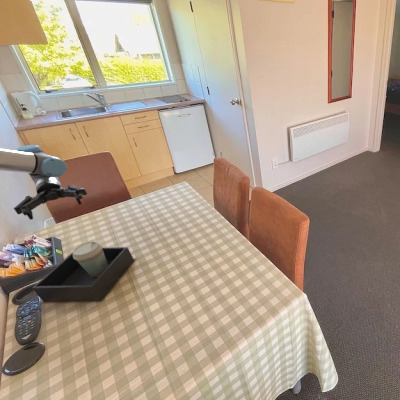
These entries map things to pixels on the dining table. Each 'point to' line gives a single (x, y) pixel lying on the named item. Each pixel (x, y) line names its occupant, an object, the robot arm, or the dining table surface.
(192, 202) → the dining table surface
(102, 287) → the shallow black tray
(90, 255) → the coffee cup
